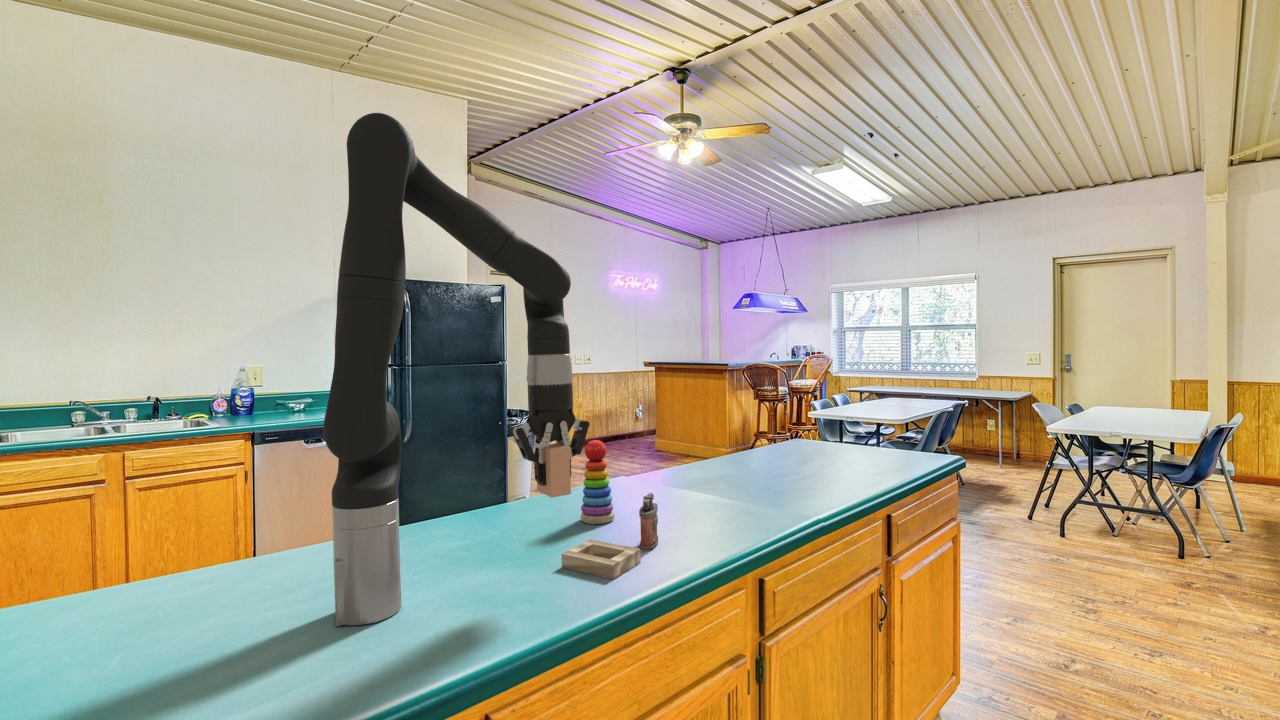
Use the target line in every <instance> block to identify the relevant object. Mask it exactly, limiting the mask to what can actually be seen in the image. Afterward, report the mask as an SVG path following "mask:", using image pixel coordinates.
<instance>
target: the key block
mask: <svg viewBox="0 0 1280 720" xmlns="http://www.w3.org/2000/svg"><path fill="white" fill-rule="evenodd" d="M544 463H545V464H546V485H544V486H541V485H539V484H538V482H536V492H539V493H541V494H543V495H544V496H547V497H549V498H557V497H558V498H559V497H562V496H569V495H571V494H572V487H571V485H572V482H571V477H570V453H569V446H566V445H565V446H564V445H561V444H557V443H556V442H555V441H552V442H550V443H549V448H546V459H545V462H544Z"/></svg>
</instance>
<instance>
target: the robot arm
mask: <svg viewBox="0 0 1280 720" xmlns="http://www.w3.org/2000/svg"><path fill="white" fill-rule="evenodd" d="M346 137H347V140H346V157H347V173H348V175H347V178H348V181H347V182H348V206H347V214H346V220H345V221H346V222H345V225H344V232H343V239H342V246H341V253H340V259H339V260H340V262H339V268H338V279H337V293H336V316H335V318H336V319H335V331H334V333H335V334H334V361H333V362H334V363H333V364H334V365H333V373H332V379H331V382H330V383H331V384H330V390H329V395H328V399H327V405H326V409H325V414H324V420H323V425H322V429H323V430H322V433H323V440H324V442H325V444H326V448H328V450H329V451H330V453H331V454H333V456H334V457H336V458H337V459H338V461H337V462H338V466H337V467H338V468H337V474H336V478H335V481H334V484H333V486H332V488H331V506H332V508H331V509H332V537H333V538H332V541H333V542H332V543H333V552H332V553H333V581H334V583H333V585H334V612H335V613H334V615H335V619H334V620H335V627H341V625H342V626H361V625H369V624H373V623H377V622H381V621H384V620H386V619H389V618H390V617H392V616H394V615H395V614H397V613H398V612H399V611H400V610H401V608H402V582H401V581H402V580H401V578H402V577H401V575H402V574H401V549H400V548H401V546H400V545H401V544H400V543H401V542H400V514H399V513H400V512H399V511H400V509H399V506H400V505H399V483H400V479H401V478H400V477H401V473H402V472H401V468H402V466H401V465H402V463H401V462H402V458H401V457H402V454H401V452H402V450H401V449H402V448H401V447H402V445H401V444H402V442H401V441H402V439H401V435H402V434H401V423H400V417H399V414H398V412H397V410H396V408H394V406H393V405H392V404H391V403H390V402H389V401H387V380H388V379H387V378H388V371H389V370H388V369H389V364H390V363H389V362H390V359H391V355H392V352H393V350H394V346H395V344H396V340H397V336H398V335H399V330H400V328H401V323H402V319H403V313H404V308H405V307H404V306H405V296H406V295H405V292H406V275H407V273H406V272H407V271H406V269H407V268H406V264H407V263H406V248H405V237H404V227H403V211H404V210H403V209H404V203H405V204H407V205H409V206H410V207H412V208H414V209H415V210H417V211H418V212H420V213H421V214H423V215H424V216H425V217H426V218H428V219H430V220H431V221H432V222H434V223H435V224H436V225H437V226H439V227H440V228H441V229H443V230H444V232H446V233H447V234H449V235H450V236H452V237H453V238H454V239H455V240H456V241H457V242H459V244H461V245H462V246H463V247H465V248H466V249H467V250H468V251H470V252H471V253H472V254H473V255H475V256H476V257H478V259H479V260H481V261H482V262H484V263H485V264H486V265H488V266H489V267H490V268H491V269H493V270H495V271H496V272H498V273H500V274H505V275H507V276H508V277H509V278H511V279H513V281H515V282H516V283H518V284H519V285H521V287H522V288H523V301H524V302H523V303H524V304H523V305H524V309H525V317H526V321H527V337H526V339H527V364H526V365H527V366H526V382H527V404H528V406H527V407H528V408H527V410H528V416H527V418H526V422H525V423H523V424H521V425H519V426H513V427H512V429H511V433H512V436H513V438H514V440H515V442H516V445H517V447H518V449H519V451H520V453H521V456H522V459H523V460H526V461H529V462H532V463H533V466H534V467H533V469H534V480H535V482H536V483H537V482H538V484H539V485H541V486H544V485H546V464H545V463H544V462H545V459H546V448H549V443H551V442H555V443H557V444H561V445H564V446H565V445H566V446H569V453H570V478H572V477H571V476H572V459H573V458H574V457H576V456H578V455H580V454H581V453H582V451H583V448H584V444H585V442H586V439H587V434H588V430H589V427H590V422H589V421H588V420H584V419H579V418H576V416H575V413H574V411H573V410H574V409H573V408H574V392H573V391H574V389H573V387H574V386H573V385H574V384H573V366H572V360H571V351H570V350H571V347H570V345H571V344H570V331H569V330H570V329H569V326H568V323H567V322H566V321H565V313H564V311H565V308H564V299H565V298H566V297H567V296H568V294H569V292H570V289H571V286H572V285H571V284H572V283H571V282H572V281H571V276H570V274H569V271H568V270H567V269H566V267H564V265H562V264H561V263H560V262H559V260H557V259H556V258H554V257H553V256H552V255H550V254H548V253H547V252H545V251H544V250H542V249H541V248H538V247H537V246H535V245H533V244H532V243H530V242H529V241H527V240H525V239H524V238H522V237H521V235H520V234H519V233H517V232H516V231H515V230H514V229H512V228H511V226H509V225H507V223H505V222H504V221H502V220H501V219H500V218H499V217H497V216H496V215H495V214H493V212H490V211H489V210H488V209H486V208H485V207H483V206H482V205H480V204H478V203H477V202H475V201H473V200H472V199H470V198H468V197H466V196H464V195H463V194H461V193H460V192H458V191H456V190H455V189H453V188H452V187H450V186H449V185H448V184H447V183H445V182H444V181H443V180H442V179H440V178H439V177H438V176H437V175H436V174H435V173H433V172H432V170H430V169H429V167H427V166H426V165H425V163H424V162H423V161H422V160H421V159H420V158H419V157H418V156H417V154H416V151H415V146H414V143H413V139H412V137H411V135H410V133H409V132H408V130H407V129H406V128H405V127H404V126H403V124H402V123H401V122H400V121H398V120H397V119H396V118H394V116H391V115H388V114H386V113H382V112H372V113H367V114H365V115H363V116H361V117H359V118H358V119H357V120H356V121H355V122H354V123H353V124H352V125H351V128H350V130H349V132H348V134H347V136H346ZM572 428H573V430H574V431H573V434H572V437H571V440H570V435H569V433H570V431H571V430H572ZM530 431H531V433H532V434H533V435H534V441H533V448H534V449H532V446H531V444H530V442H529V439H528V438H529V436H530V434H529V432H530Z"/></svg>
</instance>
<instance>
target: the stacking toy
mask: <svg viewBox="0 0 1280 720" xmlns="http://www.w3.org/2000/svg"><path fill="white" fill-rule="evenodd" d="M584 455H585V457H586V459H587V461H586V462H585V464H584V465H585V468H586V470H585V471H584V473H583V475H584V480H583V486H584V487H583V489H582V494H583V496H582V505H581V506H580V509H581V512H582V513H580V520H581V521H582V522H584V523H586V524H588V525H589V524H590V525H602V524H607V523H610V522H611V521H613V520H614V518H615V512H614V511H613V510H614V505H613V503H612V502H613V496H612V494H611V493H612V492H611V491H612V488H611V486H609V485H610V478H608V474H609V473H608V470H607V469H606V468H607V467H608V464H607V462H606V460H604V458H605V457H606V455H607V447H606V444H605V443H604V442H603V441H602V440H599V439H597V440H596V439H593V440H590V441H588V442H587V443H586V445H585V447H584Z"/></svg>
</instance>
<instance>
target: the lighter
mask: <svg viewBox="0 0 1280 720" xmlns="http://www.w3.org/2000/svg"><path fill="white" fill-rule="evenodd" d="M654 499H655V497H654V493H653V492H648V493H647V495H644V496H643V500H642V506H641V507H640V508H639V513H638V514H639V515H638V516H639V519H640V542H639V549H640V552H641V551H642V552H653V550H655V549H656V548H657V547H658V544H659V534H658V523H659V517H658V515H657V514H658V508H659V507H658V503H655V502H653V501H654Z"/></svg>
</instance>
